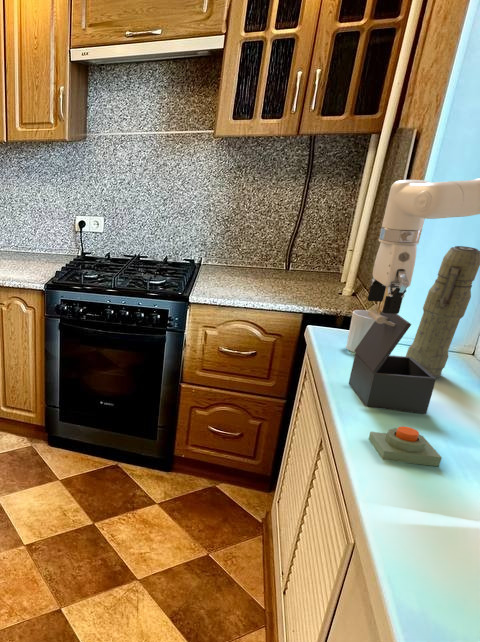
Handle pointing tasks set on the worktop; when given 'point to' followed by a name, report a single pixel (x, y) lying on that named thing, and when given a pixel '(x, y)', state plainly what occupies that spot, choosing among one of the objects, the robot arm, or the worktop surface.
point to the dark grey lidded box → (393, 384)
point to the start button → (407, 434)
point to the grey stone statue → (444, 308)
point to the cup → (358, 328)
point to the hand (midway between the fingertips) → (382, 306)
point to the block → (404, 449)
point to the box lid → (381, 338)
